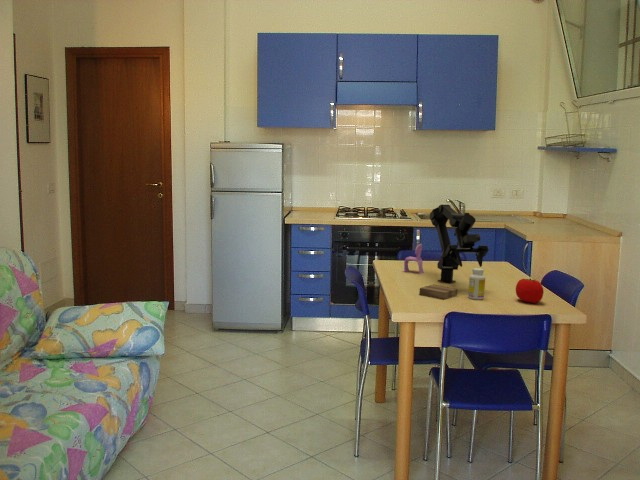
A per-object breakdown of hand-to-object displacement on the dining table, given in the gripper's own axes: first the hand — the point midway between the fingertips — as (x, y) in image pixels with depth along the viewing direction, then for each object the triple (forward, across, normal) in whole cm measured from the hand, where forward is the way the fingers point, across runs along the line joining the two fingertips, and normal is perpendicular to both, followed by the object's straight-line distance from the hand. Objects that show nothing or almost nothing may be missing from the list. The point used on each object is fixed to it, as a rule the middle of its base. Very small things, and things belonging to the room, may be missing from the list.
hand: (471, 266), depth 314 cm
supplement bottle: (+14, 0, +4) cm, 15 cm away
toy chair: (-26, -8, +44) cm, 52 cm away
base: (+10, -15, +8) cm, 20 cm away
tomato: (+19, +21, -1) cm, 29 cm away
